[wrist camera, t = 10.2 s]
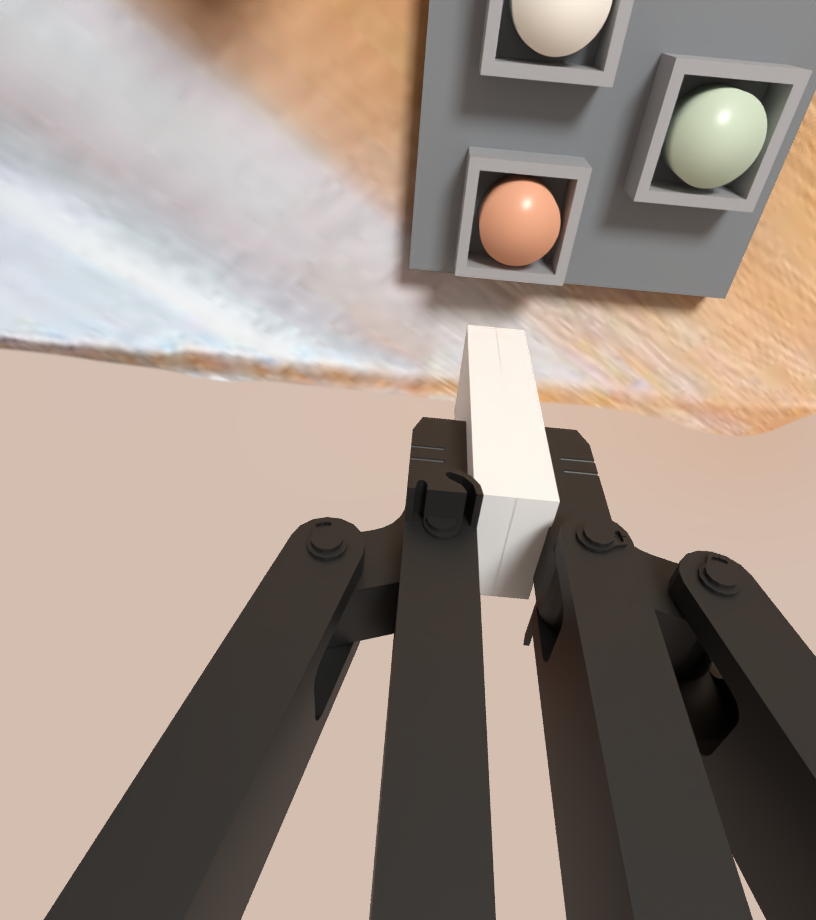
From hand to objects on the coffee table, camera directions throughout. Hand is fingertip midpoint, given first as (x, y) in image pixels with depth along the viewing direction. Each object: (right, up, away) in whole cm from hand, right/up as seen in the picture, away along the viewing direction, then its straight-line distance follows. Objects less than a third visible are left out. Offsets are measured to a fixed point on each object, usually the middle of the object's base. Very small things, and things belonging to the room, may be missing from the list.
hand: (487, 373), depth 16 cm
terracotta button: (+4, +12, +18) cm, 22 cm away
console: (+9, +17, +17) cm, 26 cm away
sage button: (+13, +15, +15) cm, 25 cm away
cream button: (+5, +20, +12) cm, 24 cm away
